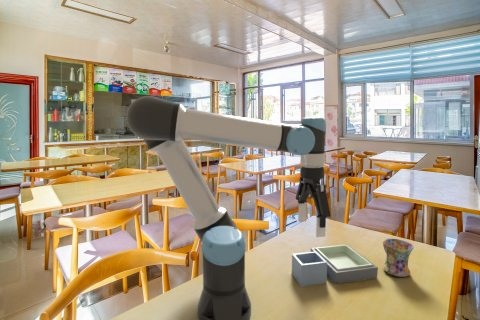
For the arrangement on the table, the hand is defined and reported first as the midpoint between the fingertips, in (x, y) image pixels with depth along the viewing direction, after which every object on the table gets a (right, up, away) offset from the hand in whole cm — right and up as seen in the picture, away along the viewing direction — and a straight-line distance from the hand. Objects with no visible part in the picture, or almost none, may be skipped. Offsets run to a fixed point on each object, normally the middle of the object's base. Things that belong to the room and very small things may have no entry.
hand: (310, 228), depth 97 cm
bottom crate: (+14, -17, +10) cm, 24 cm away
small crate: (0, -18, +3) cm, 18 cm away
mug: (+32, -17, +8) cm, 37 cm away
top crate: (+14, -17, +10) cm, 24 cm away
